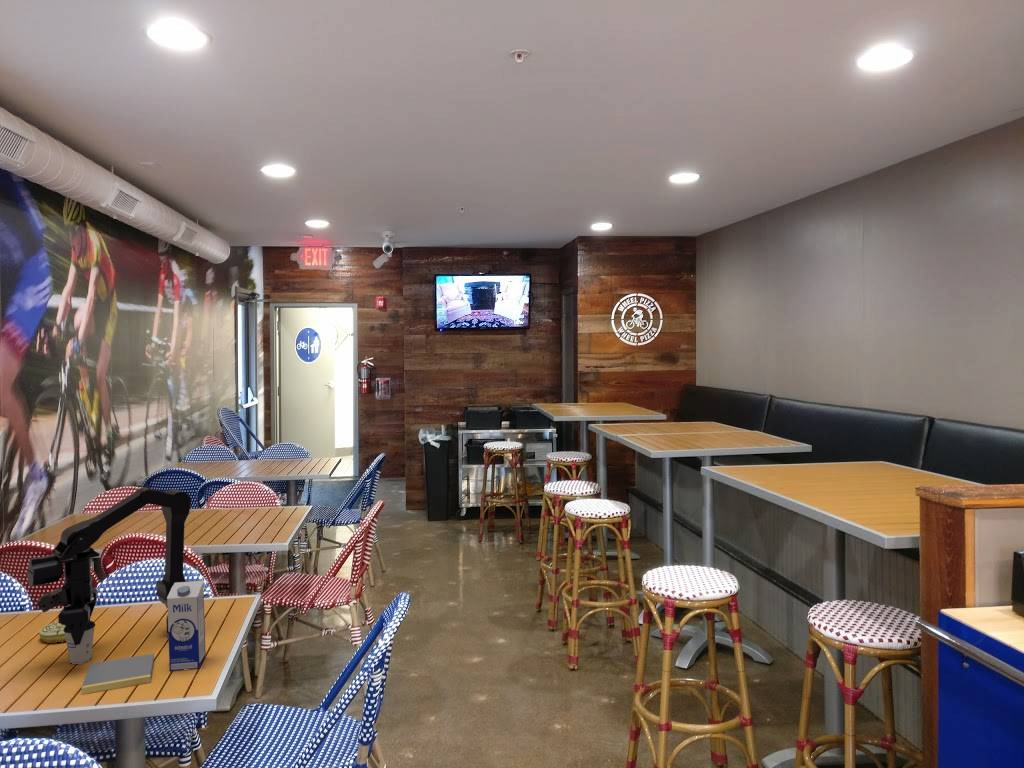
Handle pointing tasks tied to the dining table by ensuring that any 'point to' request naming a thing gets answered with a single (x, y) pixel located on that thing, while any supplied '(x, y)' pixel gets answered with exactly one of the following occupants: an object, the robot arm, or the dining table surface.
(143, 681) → the dock
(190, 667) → the milk carton
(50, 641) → the decorated donut
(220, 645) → the dining table surface
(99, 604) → the dining table surface
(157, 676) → the dining table surface
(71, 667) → the dining table surface
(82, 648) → the coffee cup
